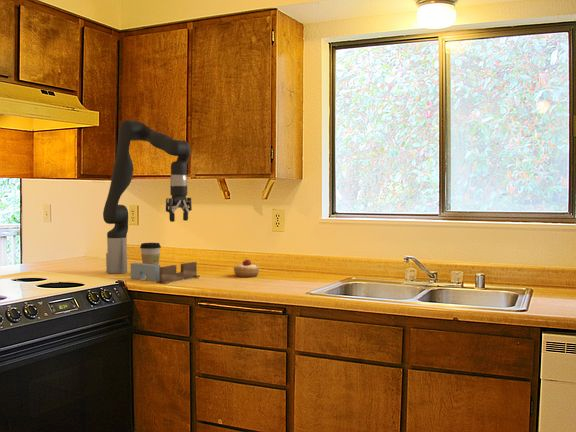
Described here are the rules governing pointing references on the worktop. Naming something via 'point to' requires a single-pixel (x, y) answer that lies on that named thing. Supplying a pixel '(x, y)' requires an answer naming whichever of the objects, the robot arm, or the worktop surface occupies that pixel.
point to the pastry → (246, 269)
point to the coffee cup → (150, 253)
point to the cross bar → (141, 268)
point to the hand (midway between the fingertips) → (178, 221)
